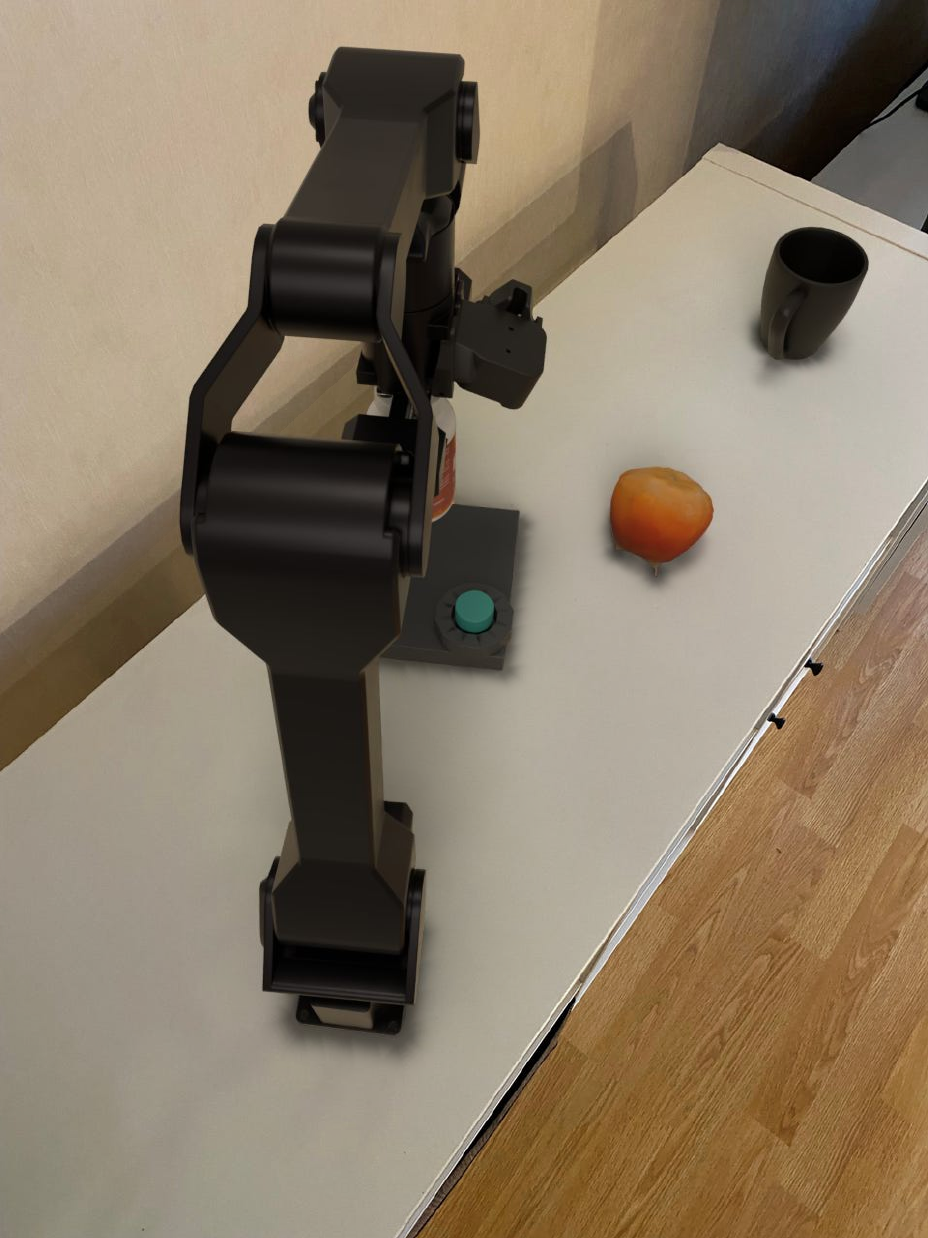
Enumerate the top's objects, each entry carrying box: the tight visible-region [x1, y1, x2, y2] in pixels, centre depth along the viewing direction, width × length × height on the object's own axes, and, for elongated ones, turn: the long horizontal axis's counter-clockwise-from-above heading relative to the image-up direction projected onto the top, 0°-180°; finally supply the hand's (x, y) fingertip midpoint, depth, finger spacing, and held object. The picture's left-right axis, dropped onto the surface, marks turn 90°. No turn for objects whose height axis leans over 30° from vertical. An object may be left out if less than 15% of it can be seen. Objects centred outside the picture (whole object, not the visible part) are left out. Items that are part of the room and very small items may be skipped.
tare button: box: [455, 590, 494, 633], centre depth 71 cm, size 3×3×2 cm
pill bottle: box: [366, 386, 457, 522], centre depth 67 cm, size 6×6×11 cm
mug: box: [759, 226, 870, 361], centre depth 88 cm, size 8×12×10 cm
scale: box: [378, 503, 521, 671], centre depth 75 cm, size 14×12×4 cm
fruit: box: [609, 466, 715, 578], centre depth 77 cm, size 8×8×8 cm
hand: (412, 463), depth 69 cm, fingers closed on pill bottle, 6 cm apart
